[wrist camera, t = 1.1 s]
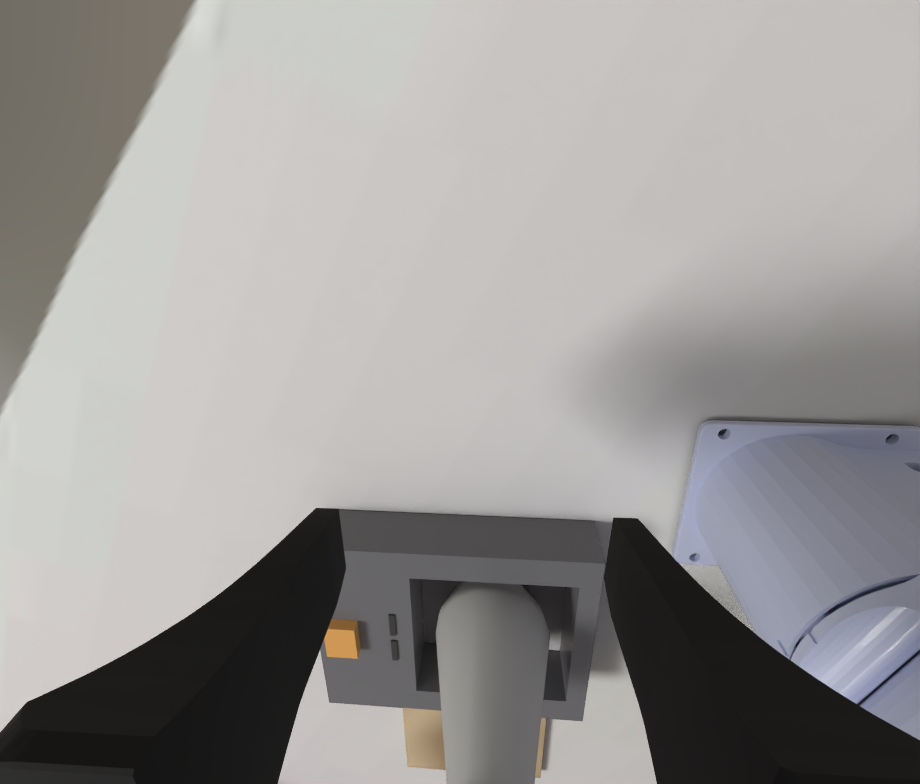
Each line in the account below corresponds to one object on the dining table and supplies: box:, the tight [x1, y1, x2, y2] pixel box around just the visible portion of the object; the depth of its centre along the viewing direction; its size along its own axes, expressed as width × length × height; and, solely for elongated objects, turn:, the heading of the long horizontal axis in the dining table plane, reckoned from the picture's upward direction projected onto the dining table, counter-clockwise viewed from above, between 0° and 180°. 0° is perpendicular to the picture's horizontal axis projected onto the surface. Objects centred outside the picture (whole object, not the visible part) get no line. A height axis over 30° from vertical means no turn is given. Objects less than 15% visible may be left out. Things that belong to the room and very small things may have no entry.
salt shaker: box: [436, 581, 550, 784], centre depth 22 cm, size 6×6×13 cm
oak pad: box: [403, 708, 546, 778], centre depth 32 cm, size 9×9×1 cm
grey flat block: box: [320, 510, 605, 721], centre depth 26 cm, size 14×11×4 cm
